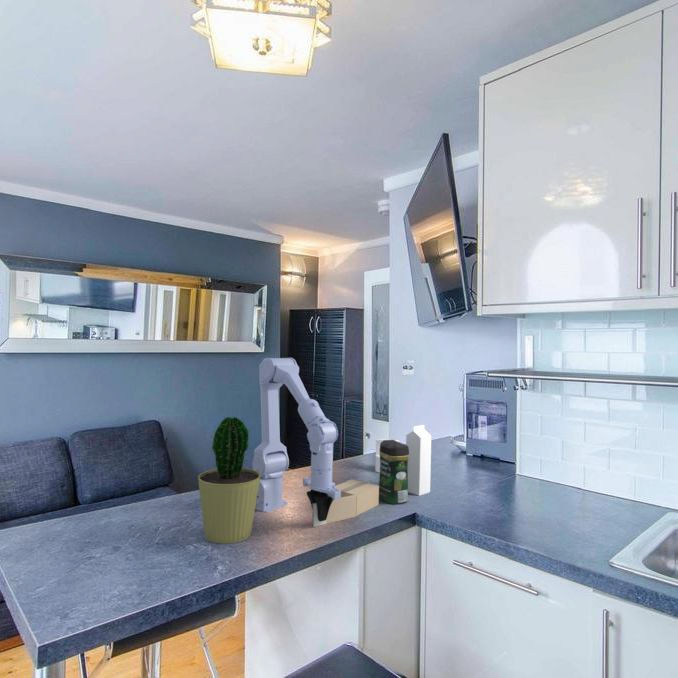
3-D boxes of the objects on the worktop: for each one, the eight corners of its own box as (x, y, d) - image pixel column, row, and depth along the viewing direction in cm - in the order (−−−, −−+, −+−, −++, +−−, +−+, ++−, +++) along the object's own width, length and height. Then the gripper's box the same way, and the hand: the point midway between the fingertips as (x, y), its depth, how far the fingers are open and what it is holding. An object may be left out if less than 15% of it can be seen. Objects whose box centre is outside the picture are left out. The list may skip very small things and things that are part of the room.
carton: (356, 516, 134) (356, 494, 134) (328, 508, 140) (328, 487, 140) (378, 505, 144) (379, 485, 144) (351, 498, 150) (351, 479, 150)
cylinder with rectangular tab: (372, 472, 180) (373, 441, 181) (377, 467, 189) (378, 436, 189) (396, 475, 178) (397, 443, 178) (400, 469, 186) (401, 438, 187)
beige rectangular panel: (356, 516, 133) (356, 495, 133) (313, 526, 125) (314, 504, 125) (354, 515, 134) (354, 494, 134) (312, 525, 126) (312, 503, 126)
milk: (430, 492, 158) (432, 426, 158) (418, 496, 154) (421, 427, 154) (415, 488, 162) (417, 423, 163) (404, 491, 158) (406, 425, 158)
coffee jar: (374, 497, 152) (375, 438, 152) (395, 494, 155) (397, 437, 155) (389, 507, 143) (391, 445, 143) (412, 503, 146) (413, 443, 146)
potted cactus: (195, 550, 110) (199, 420, 110) (196, 525, 125) (199, 410, 125) (262, 544, 114) (266, 419, 115) (255, 520, 129) (258, 410, 129)
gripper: (350, 472, 123) (349, 524, 123) (318, 460, 134) (316, 508, 134) (328, 476, 119) (327, 530, 119) (297, 463, 130) (295, 513, 130)
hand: (320, 519), depth 126 cm, fingers closed
